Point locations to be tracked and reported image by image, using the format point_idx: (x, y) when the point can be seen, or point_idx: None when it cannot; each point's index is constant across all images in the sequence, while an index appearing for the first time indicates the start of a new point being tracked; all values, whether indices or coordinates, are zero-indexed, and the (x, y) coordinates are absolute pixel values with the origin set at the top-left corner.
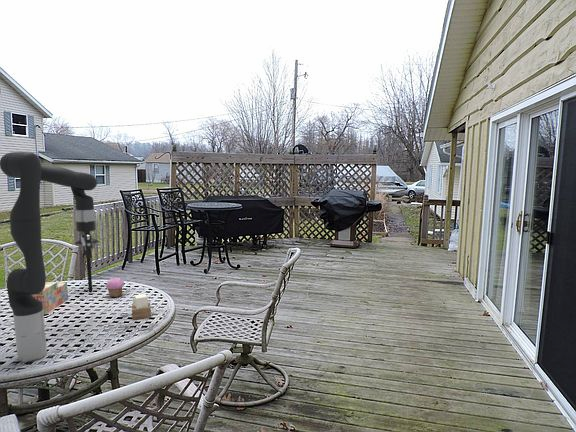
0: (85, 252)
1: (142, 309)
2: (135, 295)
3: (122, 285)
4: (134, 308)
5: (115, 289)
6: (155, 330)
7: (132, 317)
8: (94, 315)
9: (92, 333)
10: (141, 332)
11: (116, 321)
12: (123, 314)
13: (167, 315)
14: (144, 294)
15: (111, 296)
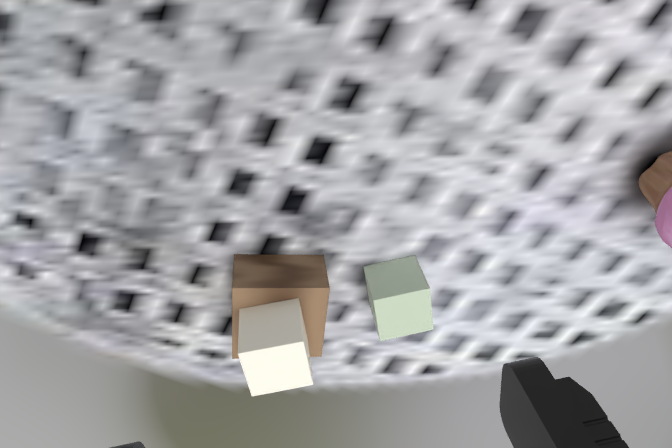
0: (524, 421)
1: (232, 327)
2: (300, 347)
3: (668, 244)
4: (254, 298)
5: (661, 200)
6: (64, 337)
7: (234, 263)
8: (397, 70)
9: (91, 72)
10: (51, 290)
11: (243, 186)
12: (336, 215)
13: (237, 374)
14: (298, 382)
15: (664, 153)
